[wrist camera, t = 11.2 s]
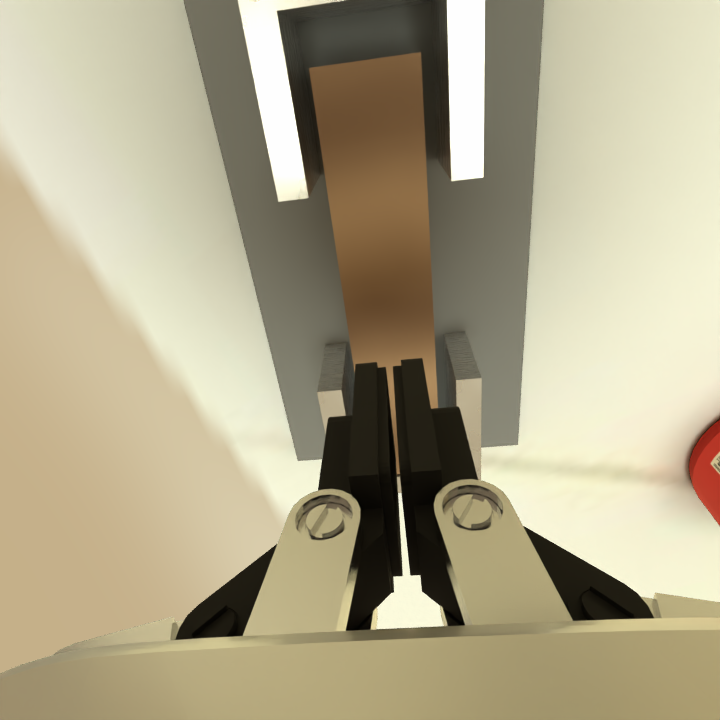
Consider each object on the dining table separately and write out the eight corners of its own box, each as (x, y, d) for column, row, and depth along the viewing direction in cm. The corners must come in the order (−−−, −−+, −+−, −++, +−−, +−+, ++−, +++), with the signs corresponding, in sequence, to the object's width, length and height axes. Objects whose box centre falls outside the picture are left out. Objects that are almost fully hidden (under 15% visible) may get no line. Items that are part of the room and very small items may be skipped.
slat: (321, 67, 17) (309, 68, 14) (411, 54, 17) (420, 52, 14) (370, 421, 26) (370, 476, 22) (432, 416, 25) (441, 471, 22)
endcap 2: (466, 431, 26) (480, 487, 22) (342, 440, 26) (338, 496, 23) (465, 330, 23) (481, 377, 19) (325, 344, 23) (316, 392, 20)
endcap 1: (261, -10, 16) (231, -30, 13) (461, -41, 16) (485, -71, 12) (295, 177, 19) (278, 201, 16) (463, 157, 19) (483, 177, 15)
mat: (177, -40, 16) (173, -42, 16) (546, -102, 15) (550, -106, 15) (298, 456, 27) (297, 460, 27) (516, 439, 26) (517, 444, 26)
